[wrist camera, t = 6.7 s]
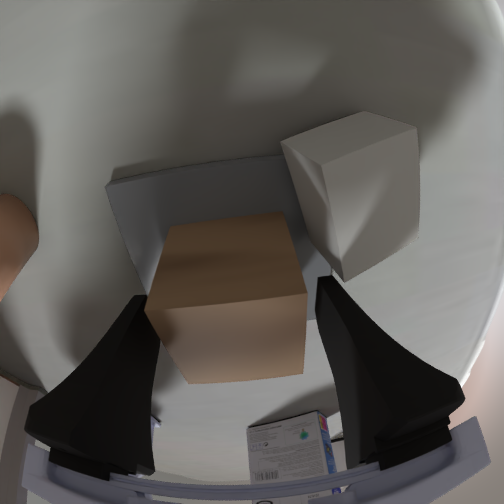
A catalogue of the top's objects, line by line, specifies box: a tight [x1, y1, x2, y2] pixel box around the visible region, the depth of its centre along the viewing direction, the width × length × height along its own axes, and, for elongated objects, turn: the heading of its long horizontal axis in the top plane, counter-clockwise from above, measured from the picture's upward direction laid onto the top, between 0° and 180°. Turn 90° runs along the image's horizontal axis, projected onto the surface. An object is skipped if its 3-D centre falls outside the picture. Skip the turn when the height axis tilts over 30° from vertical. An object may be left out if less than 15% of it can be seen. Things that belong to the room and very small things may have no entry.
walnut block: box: [144, 211, 308, 384], centre depth 12 cm, size 5×5×5 cm
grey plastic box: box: [280, 111, 420, 283], centre depth 10 cm, size 5×4×3 cm
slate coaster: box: [105, 155, 331, 320], centre depth 14 cm, size 10×10×1 cm
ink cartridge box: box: [247, 411, 341, 504], centre depth 25 cm, size 10×6×14 cm, turn 119°
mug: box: [331, 438, 349, 489], centre depth 38 cm, size 11×9×10 cm
